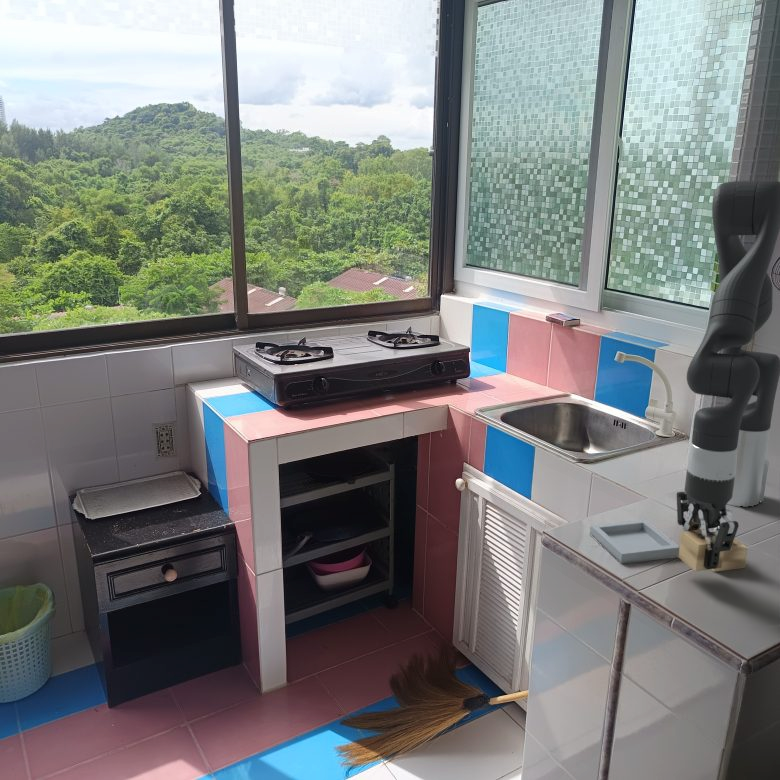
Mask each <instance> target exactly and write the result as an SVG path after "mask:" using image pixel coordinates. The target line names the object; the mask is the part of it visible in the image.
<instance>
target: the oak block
mask: <svg viewBox="0 0 780 780" xmlns="http://www.w3.org/2000/svg"><path fill="white" fill-rule="evenodd" d="M748 549H749V547H747V546H745V545H744V544H743V543H741V542H740V541H739V540H737V539H735V538H734V541H733V543H732V546H731V549H730V550H729V551H724V552H723V560H722V567H721V568H717V569H710V570H711V571H712V572H715V573H716V572H721V571H722V572H724V571H730V570H737V569H745V568H746V562H747V555H748Z"/></svg>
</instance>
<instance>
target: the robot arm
mask: <svg viewBox="0 0 780 780" xmlns="http://www.w3.org/2000/svg"><path fill="white" fill-rule="evenodd" d="M711 212H712V213H711V216H712V224H713V226H712V227H713V232H714V239H715V246H716V253H717V254H716V255H717V259H718V260H717V261H718V262H717V263H718V286H717V287H716V290H715V292H714V294H713V298H712V301H711V307H710V312H709V316H708V317H709V318H708V323H707V328H706V331H705V333H704V336H703V338H702V341H701V343H700V344H699V346H698V348H697V350H696V352H695V353H694V356H693V357H692V359H691V361H690V363H689V364H688V368H687V371H686V382H687V386H688V387H689V389H690V390H691V392H693V393H695V394H696V395H702V396H710V397H717V398H725V399H731V400H730V401H729V402H728V403H726V404H723V405H720V406H719V405H718V406H708V407H703V408H700V409H698V410H697V411H696V412H695V415H694V418H693V428H692V437H691V443H690V448H689V451H688V455H687V465H686V474H685V481H684V482H685V483H684V491H677V492H676V506H677V507H676V514H677V518H676V519H677V524H678V525H679V526H682V527H683V528H682V530H683V531H691V530H699V529H702V535H703V536H705V541H706V550H705V558H704V567H705V568H706V569H710V570H711V569H715V568H716V567H717V566H718V563H719V555H720V552H722V551H729V550H730V549H731V546H732V543H733V541H734V539H735V538H736V535H737V533H738V529H739V522H738V521H737V520H731V521H730V520H729V519H728V517H727V512H726V509H727V505H728V506H734V507H739V508H741V507H740V506H743V507H742V508H749V507H748V506H752V507H755V506H754V505H756V504H758V505H759V504H760V503H761V502H760V501H763V502H764V499H765V491H766V485H767V480H768V471H769V466H770V465H769V464H770V462H769V460H767V459H766V458H767V452H768V446H769V437H770V433H771V432H770V430H771V425H772V424H771V422H772V418H773V411H774V404H775V399H776V393H777V389H778V385H779V380H780V357H779V356H778V354H774V353H769V352H760V351H752V350H744V349H742V347H743V346H747V344H749V343H750V342H751V341H752V339H753V336H754V335H755V334H756V332H758V331H759V330H760V329H761V328H762V327H763V326H764V324H766V323H767V321H768V320H769V319H770V316H771V314H772V311H773V283H772V282H773V281H772V279H771V276H769V274H768V273H767V272H768V270H769V267H770V263H771V260H772V257H773V254H774V251H775V247H776V245H777V244H776V242H777V240H778V238H779V237H778V236H779V233H780V180H776V179H758V180H735V181H727V182H723V183H720V184H719V185H718V186H717V187H716V188H715V191H714V194H713V196H712V204H711ZM740 236H755V240H754V242H753V243H752V245H751V247H750V248H749V250H748V251H747V249H746V248H745V247H744V244H743V243H742V241H741V238H740ZM720 351H721V353H719V352H720ZM752 396H755V397H756V400H755V401H753V402H750V399H751V398H752ZM749 402H750V403H749ZM759 502H760V503H759ZM756 506H757V505H756ZM685 512H686V515H685V514H684V513H685ZM684 515H685V516H684ZM716 527H717V528H716ZM714 528H716V530H714ZM709 529H713V530H709ZM713 536H715V538H716V540H715V542H714V543H712V537H713ZM723 542H724V543H723Z"/></svg>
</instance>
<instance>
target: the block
mask: <svg viewBox="0 0 780 780" xmlns="http://www.w3.org/2000/svg"><path fill="white" fill-rule="evenodd" d="M715 540H716V538H715V536H713V537H712V543H714V542H715ZM723 543H724V542H723ZM679 546H680V549H679V557H678V559H680V560H681V561H683V563H685V564H686V565H687V566H688V567H690V568H691V569H692V570H693V571H695V572H702V571H708V570H711V569H706V568H705V567H704V558H705V550H706V541H705V536H703V535H702V528H700V529H699V530H691V531H684V530H683V531H681V533H680V540H679ZM723 552H724V551H722V552H720V555H719V563H718V566H717V567H716V568H715V569H717V568H721V567H722V560H723Z"/></svg>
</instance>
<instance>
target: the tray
mask: <svg viewBox="0 0 780 780" xmlns="http://www.w3.org/2000/svg"><path fill="white" fill-rule="evenodd" d="M589 530H590V531H589V535H590V534H591V535H592V536H593V537H594V538H595V539H596V540H597V541H598V542H599V543H600V544H601V545H602V546H603V547H602V548H603V549H605V551H607V552H608V553H609V554H610V555H611V556H612V557H613V558H614V559H615V560H616V561H617V562H619V564H620V565H623V564H625V565H626V564H631V563H639V562H649V561H656V560H657V561H658V560H666V559H674V558H679V549H680V545H679V544H677V543H676V542H675V541H673V540H672V539H671V538H669V537H668V536H667V535H666V534H664V533H663V532H662V531H661V530H659V529H658V528H657V527H656V526H655V525H653V524H652V523H650V522H649V521H648V520H646V519H637V520H627V521H620V522H619V521H618V522H610V523H600V524H590V527H589ZM591 535H590V536H591ZM592 536H591V537H592ZM593 537H592V538H593ZM594 538H593V539H594ZM595 539H594V540H595ZM596 540H595V541H596ZM597 541H596V542H597ZM598 542H597V543H598ZM599 543H598V544H599ZM600 544H599V545H600Z"/></svg>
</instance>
